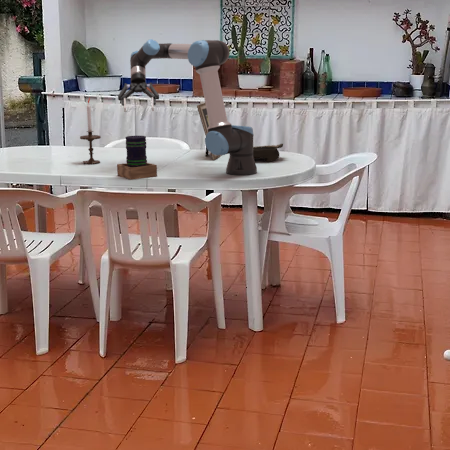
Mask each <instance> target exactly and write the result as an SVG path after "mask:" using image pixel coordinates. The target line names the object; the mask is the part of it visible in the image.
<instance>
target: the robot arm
mask: <svg viewBox="0 0 450 450" xmlns="http://www.w3.org/2000/svg"><path fill="white" fill-rule="evenodd" d="M229 56H230V48H229V46H228V44H226V43H225V42H224V41H222V40H218V39H217V40H215V39H214V40H211V39H205V40H204V39H200V40H195V41H193V42H192V43H172V42H169V43H168V42H167V43H158V41H156V40H154V39H153V38H152V39H148V40H146V42H144V43H143V45H142V46H141V48H139V50H135V51H132V53H131V54H130V62H129V63H130V84H128V83H124V86H123V88H122V89H121V91H120V92H119V94H118V95H117V99H118V101H121V107H122V106H123V109H124V111H123V112H125V113H126V112H127V101H126V100H128V98H129V97H130V96H131V95H133V94H134V93H136V94H137V93H143V94H145V95H146V96H148V97H149V98H150V99H151V111H152V112H154V109H155V107H154V106H156V105H157V101H156V100H160V94H159V92H157V90H156V89H155V87H154V86H153V83H152V82H149V83H147V77H146V73H147V72H146V67H147V65H148V64H149V63H150V61H152V60H156V59H157V60H158V59H161V60H162V59H168V60H170V59H174V60H175V59H177V60H188V62H189V64H191V66H193V67H194V68H195V69H194V71H195V73H197V74H198V75H199V79H200V83H201V88H202V92H203V97H204V103H206V108H207V113H208V118H209V123H210V125H209V127H208V133H207V135H206V136H205V137H204V144H205V148H206V147H207V149H208V151H209V153H210V152H211V153H212V154H214V155H221V156H225V155H229V158H228V161H227V164H226V167H225V173H226V174H228V175H235V176H237V175H238V176H245V175H246V176H250V175H253V174H256V173H257V172H258V167H257V164H256V161H255V159H254V158H253V147H254V129H253V127H251V126H250V125H249V126H246V125H233V124H232V123H231V122H229V120H228V117H227V111H226V106H225V102H224V101H225V100H224V97H223V96H224V95H223V91H222V88H221V82H220V78H219V77H220V76H219V72H218V71H219V69H220V67H221V65H223V64H225V63H226V62H227V61H228V59H229V58H230V57H229ZM211 153H210V154H211Z"/></svg>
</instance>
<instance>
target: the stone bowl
mask: <svg viewBox="0 0 450 450" xmlns="http://www.w3.org/2000/svg"><path fill="white" fill-rule="evenodd" d="M283 146H284V143H280V144H276V145H274V144H273V145H272V144H271V145H261V146H260V145H259V146H253V158H254V160H256V159H257V160H259V159H263V160H264V162H266V163H272V162H274V161H277V160H278V159H280V151H279V150H278V149H282V148H283Z"/></svg>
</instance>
